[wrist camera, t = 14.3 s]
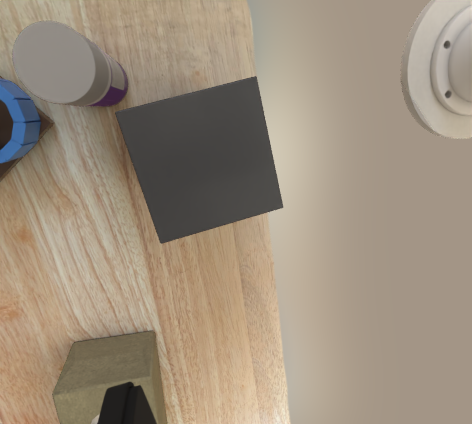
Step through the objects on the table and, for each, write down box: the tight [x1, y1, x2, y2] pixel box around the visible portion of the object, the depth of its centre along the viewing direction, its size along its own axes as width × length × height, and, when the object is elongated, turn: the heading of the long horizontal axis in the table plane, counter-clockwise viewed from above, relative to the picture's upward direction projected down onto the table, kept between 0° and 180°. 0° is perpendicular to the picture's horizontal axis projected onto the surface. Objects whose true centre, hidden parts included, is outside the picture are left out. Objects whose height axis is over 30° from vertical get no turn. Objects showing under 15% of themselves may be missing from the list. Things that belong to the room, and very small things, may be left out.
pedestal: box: [115, 76, 283, 244], centre depth 28 cm, size 8×8×18 cm
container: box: [13, 21, 128, 106], centre depth 27 cm, size 5×5×15 cm
